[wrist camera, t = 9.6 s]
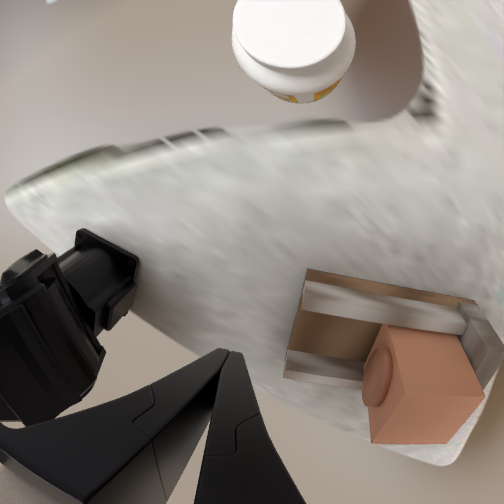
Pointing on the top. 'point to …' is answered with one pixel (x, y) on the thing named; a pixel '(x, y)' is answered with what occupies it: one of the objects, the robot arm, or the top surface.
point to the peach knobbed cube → (418, 386)
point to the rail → (376, 327)
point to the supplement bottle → (293, 46)
